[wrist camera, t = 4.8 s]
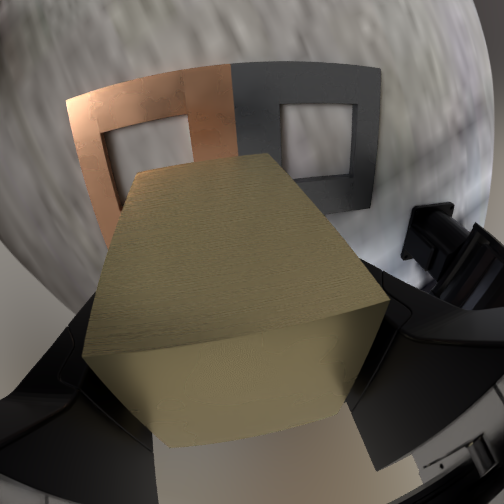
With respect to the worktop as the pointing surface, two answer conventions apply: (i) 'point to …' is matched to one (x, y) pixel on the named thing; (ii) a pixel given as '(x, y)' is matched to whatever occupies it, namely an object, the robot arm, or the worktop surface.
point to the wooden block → (229, 304)
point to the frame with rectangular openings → (232, 122)
